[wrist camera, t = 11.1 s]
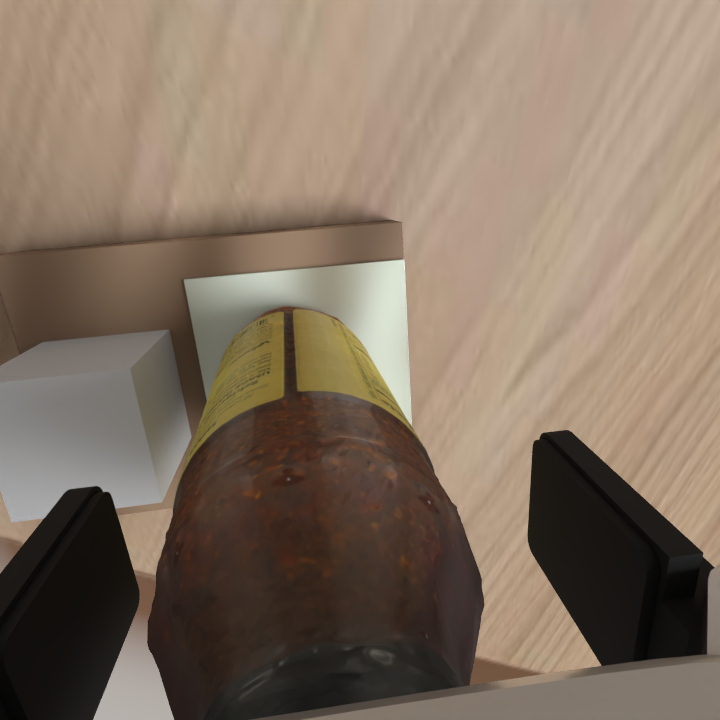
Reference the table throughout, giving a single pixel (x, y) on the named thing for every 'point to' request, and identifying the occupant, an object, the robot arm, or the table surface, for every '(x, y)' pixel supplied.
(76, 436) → the grey block
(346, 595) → the sauce bottle
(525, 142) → the table surface
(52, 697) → the robot arm
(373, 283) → the base board
